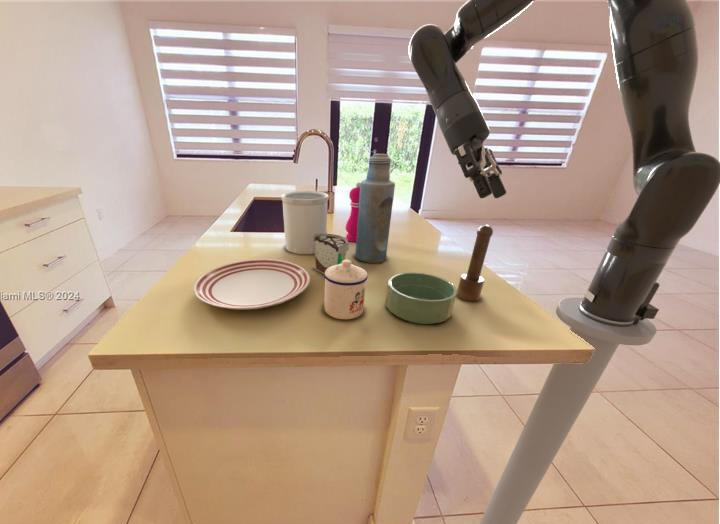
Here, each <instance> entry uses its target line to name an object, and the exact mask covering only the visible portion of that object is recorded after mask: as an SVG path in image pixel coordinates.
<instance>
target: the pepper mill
mask: <svg viewBox="0 0 720 524" xmlns="http://www.w3.org/2000/svg"><path fill="white" fill-rule="evenodd" d="M360 184H361V182H356V184H355V187H353V188H351V189H350V191H349V193H348V194H349V196H348V197H349V200H350V201H349V202H350V204H349V206H350V215H349V217H348V220H347V221H346V224H345V230H346V234H345V235H346V237H345V238H346V239H347V242H353V243H356V241H357V226H358V213H359V198H360Z"/></svg>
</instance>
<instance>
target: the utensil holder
mask: <svg viewBox="0 0 720 524" xmlns="http://www.w3.org/2000/svg"><path fill="white" fill-rule="evenodd" d="M329 197H330V196H329V194H328V193H327V192H323V191H318V190H293V191H285V192H283V193H282V194H281V201H282V215H283V230H284V242H285V249H286V250H287V251H288V252H290V253H292V254H296V255H313V254H314V255H315V248H314V241H313V237H314V234H328V202H329Z"/></svg>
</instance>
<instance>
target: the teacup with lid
mask: <svg viewBox="0 0 720 524" xmlns="http://www.w3.org/2000/svg"><path fill="white" fill-rule="evenodd" d="M323 278H324V300H323V301H324V303H323V304H324V305H323V308H324V312H325V313H326V314H327V315H328V316H330V317H331V318H334V319H338V320H353V319H356V318H358V317H360V316H361V315H362V314H363V312H364V306H365V296H366V295H365V294H366V286H367V285H366V284H367V280H368V273H367V271H366V270H365V269H364V268H362V267H360V266H357V265H355V264H352V261H351V260H350V259H345V260H343V261H342V264H338V265H334V266H331V267H329V268H327V269H326V271H325V273H324V274H323Z"/></svg>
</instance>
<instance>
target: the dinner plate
mask: <svg viewBox="0 0 720 524" xmlns="http://www.w3.org/2000/svg"><path fill="white" fill-rule="evenodd" d="M310 282H311V277H310V274H309V272H308V271H307V270H306V269H305V268H304V267H302V266H300V265H298V264H296V263H294V262H290V261H287V260H281V259H273V258H272V259H271V258H255V259H254V258H253V259H246V260H239V261H233V262H231V263H226V264H223V265H220V266H217V267H215V268H212V269H210V270H208V271H206V272H205V273H203V274H202V275H200V277H199V278H198V279H196V281H195V283H194V285H193V294H194V295H195V297H196V298H197V299H198V300H200V301H201V302H203V303H205V304H207V305H210V306H214V307H216V308H221V309H222V308H223V309H229V310H259V309H264V308H269V307H273V306H278V305H280V304H284V303H286V302H288V301H290V300H293V299H294V298H296V297H298V296H299V295H300V294H301V293H303V292H304V291H305V290H306V289H307V287H308V286H309V284H310Z"/></svg>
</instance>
